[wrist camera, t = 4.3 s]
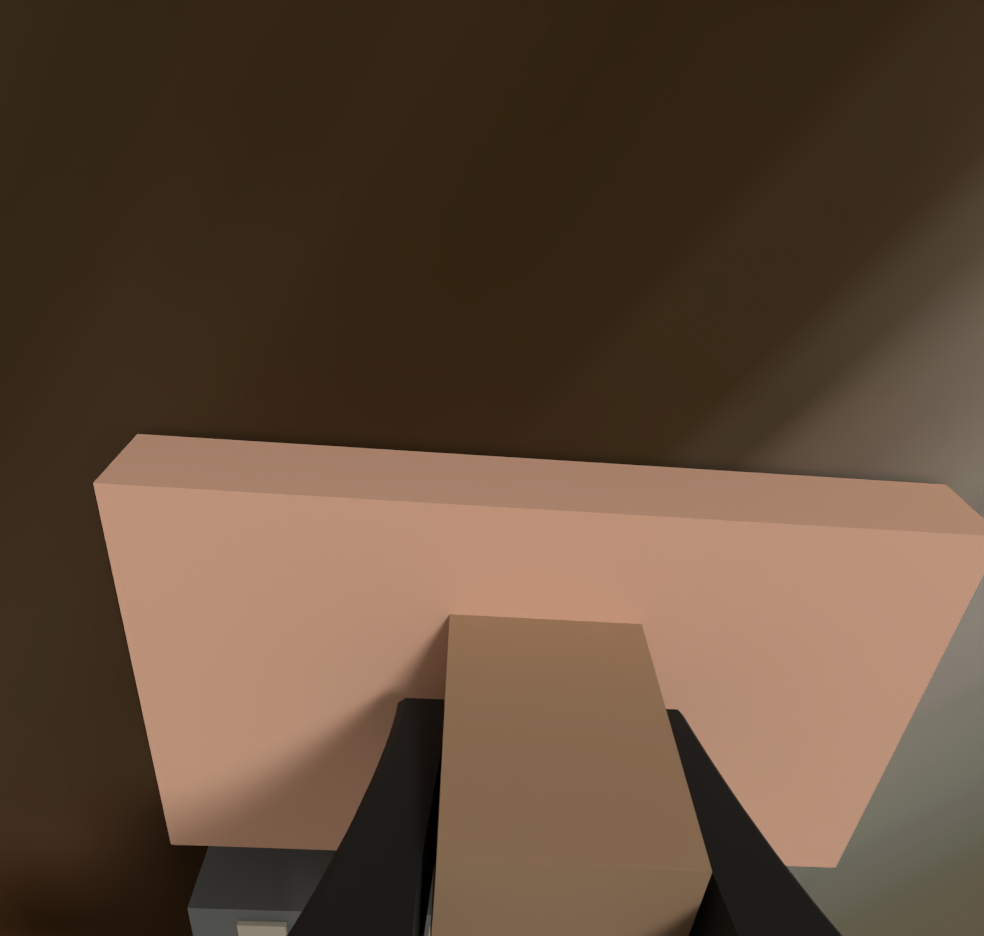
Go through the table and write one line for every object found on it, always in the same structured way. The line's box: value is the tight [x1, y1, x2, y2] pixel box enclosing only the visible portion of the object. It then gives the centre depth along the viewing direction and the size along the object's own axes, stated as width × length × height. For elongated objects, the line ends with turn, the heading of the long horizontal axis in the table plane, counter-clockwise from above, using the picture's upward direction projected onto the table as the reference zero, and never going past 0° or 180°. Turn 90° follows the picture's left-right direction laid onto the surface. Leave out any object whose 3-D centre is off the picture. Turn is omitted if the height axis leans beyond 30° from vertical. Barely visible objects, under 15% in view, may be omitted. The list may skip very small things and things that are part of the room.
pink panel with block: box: [93, 434, 984, 936], centre depth 11 cm, size 13×8×6 cm, turn 85°
